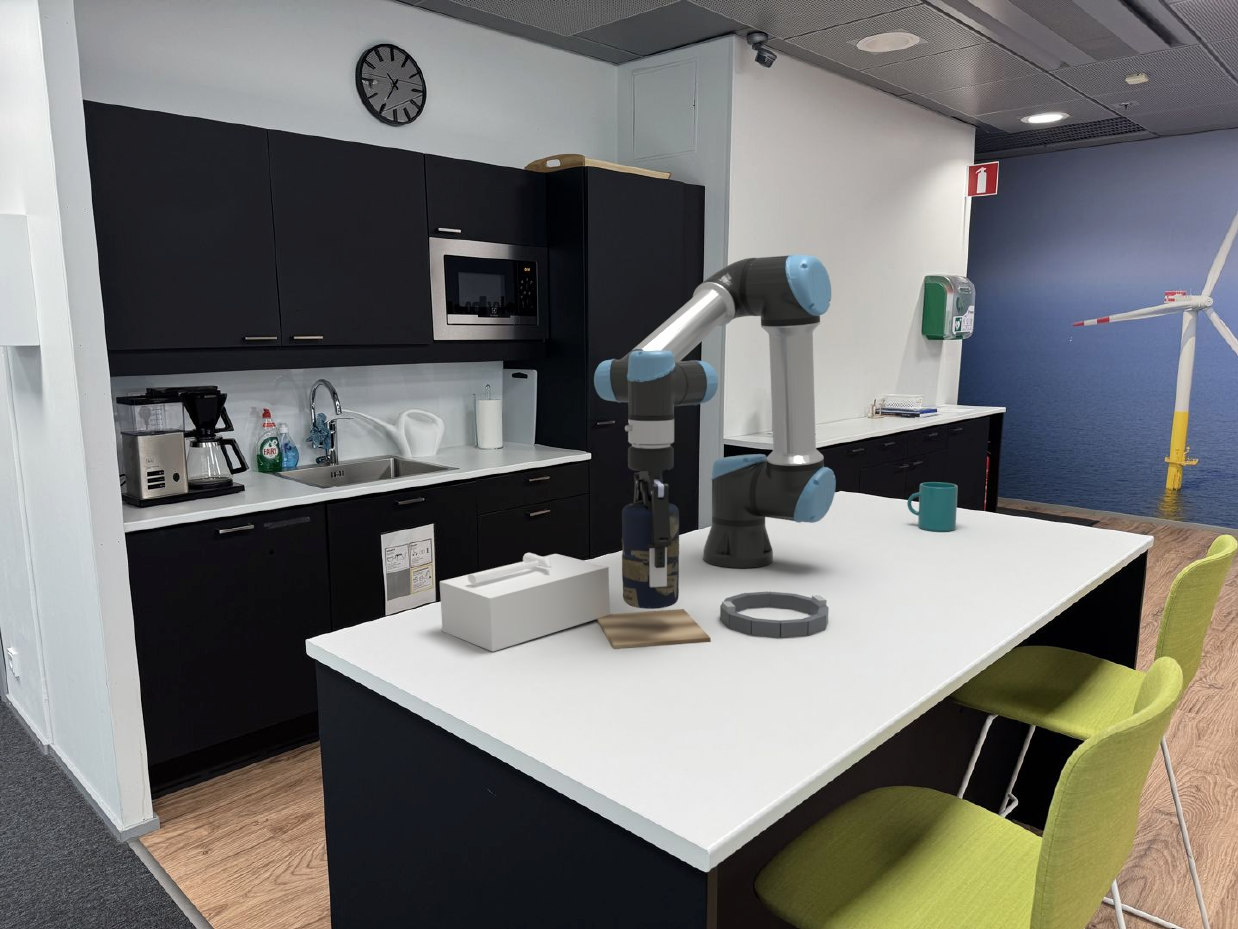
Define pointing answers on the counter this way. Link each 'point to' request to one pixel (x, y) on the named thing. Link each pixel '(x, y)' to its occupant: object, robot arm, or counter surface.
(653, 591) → the canister
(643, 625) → the mat
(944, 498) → the cup
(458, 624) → the tissue box
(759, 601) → the collar
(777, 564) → the counter surface
